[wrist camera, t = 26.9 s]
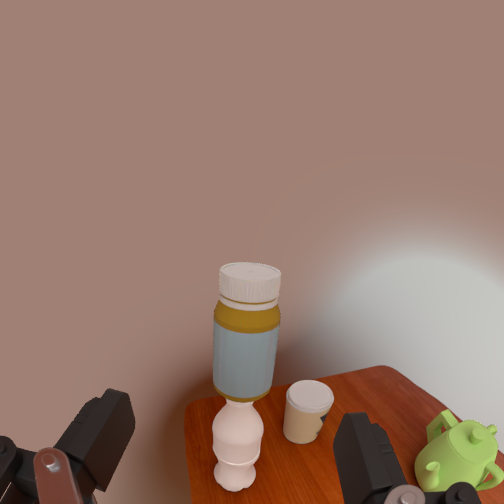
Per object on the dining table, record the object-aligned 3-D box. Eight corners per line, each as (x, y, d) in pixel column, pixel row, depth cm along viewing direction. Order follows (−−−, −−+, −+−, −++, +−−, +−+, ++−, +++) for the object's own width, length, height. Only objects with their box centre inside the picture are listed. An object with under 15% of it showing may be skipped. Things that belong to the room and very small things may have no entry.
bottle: (281, 386, 32) (298, 272, 29) (244, 414, 27) (255, 287, 23) (239, 364, 36) (247, 258, 33) (201, 385, 31) (201, 268, 28)
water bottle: (256, 468, 40) (272, 373, 35) (251, 497, 33) (267, 409, 28) (218, 462, 41) (219, 365, 35) (210, 490, 34) (204, 399, 28)
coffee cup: (322, 447, 45) (337, 410, 43) (277, 445, 47) (286, 407, 44) (320, 418, 55) (332, 380, 52) (280, 415, 56) (287, 377, 53)
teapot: (479, 454, 32) (511, 408, 29) (468, 519, 16) (516, 478, 13) (416, 440, 43) (442, 394, 40) (391, 506, 28) (428, 465, 24)
